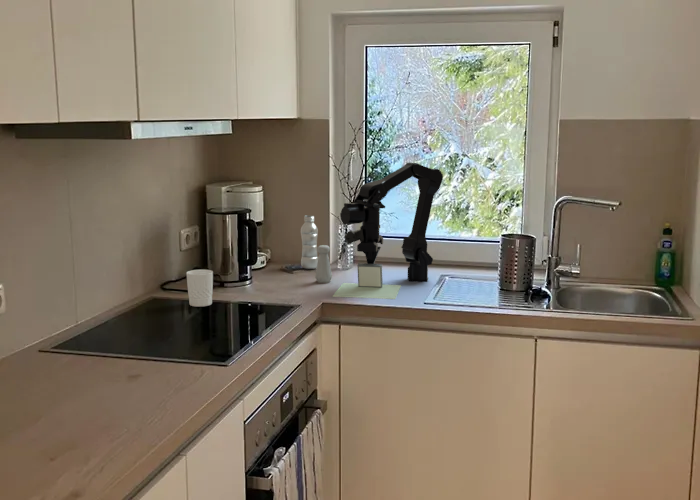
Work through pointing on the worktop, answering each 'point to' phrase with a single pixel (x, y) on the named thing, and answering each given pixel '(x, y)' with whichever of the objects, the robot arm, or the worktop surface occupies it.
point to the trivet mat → (367, 291)
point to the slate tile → (370, 275)
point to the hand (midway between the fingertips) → (370, 268)
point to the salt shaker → (323, 265)
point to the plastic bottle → (309, 243)
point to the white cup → (200, 287)
